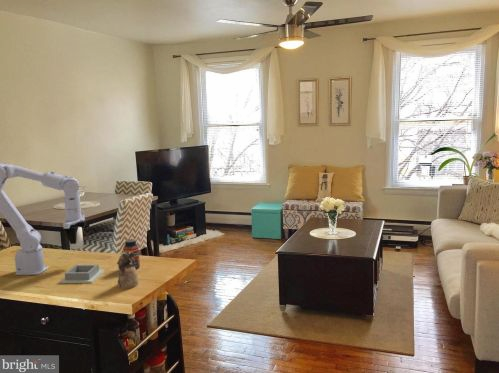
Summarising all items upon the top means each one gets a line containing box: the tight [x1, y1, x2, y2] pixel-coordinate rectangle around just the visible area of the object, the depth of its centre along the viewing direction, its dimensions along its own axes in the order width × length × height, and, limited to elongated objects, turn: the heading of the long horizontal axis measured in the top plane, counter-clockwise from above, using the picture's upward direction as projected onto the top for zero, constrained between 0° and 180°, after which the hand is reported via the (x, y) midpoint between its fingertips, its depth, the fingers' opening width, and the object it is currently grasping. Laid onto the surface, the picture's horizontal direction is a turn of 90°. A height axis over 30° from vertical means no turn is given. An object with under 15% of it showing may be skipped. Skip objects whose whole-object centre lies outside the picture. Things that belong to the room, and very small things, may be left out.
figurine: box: [116, 252, 139, 290], centre depth 152 cm, size 7×7×12 cm
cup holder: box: [58, 264, 105, 284], centre depth 161 cm, size 12×12×3 cm
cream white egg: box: [69, 227, 84, 250], centre depth 172 cm, size 5×5×8 cm
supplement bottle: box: [122, 238, 141, 270], centre depth 169 cm, size 6×6×11 cm
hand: (76, 241), depth 172 cm, fingers closed on cream white egg, 5 cm apart
